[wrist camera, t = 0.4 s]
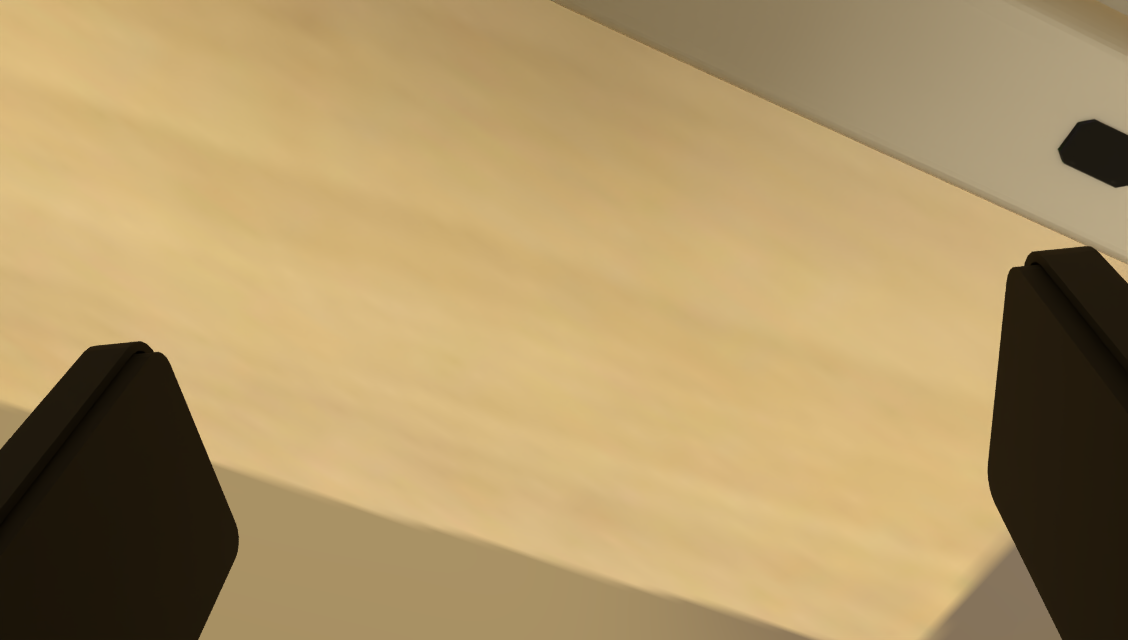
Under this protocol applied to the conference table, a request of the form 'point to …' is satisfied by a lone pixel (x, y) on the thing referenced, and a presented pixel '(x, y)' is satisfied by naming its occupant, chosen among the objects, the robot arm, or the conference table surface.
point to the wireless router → (934, 88)
